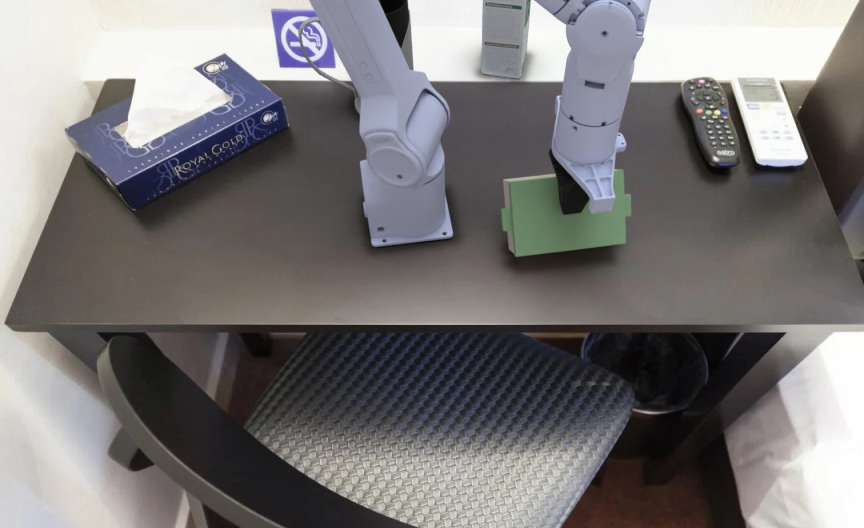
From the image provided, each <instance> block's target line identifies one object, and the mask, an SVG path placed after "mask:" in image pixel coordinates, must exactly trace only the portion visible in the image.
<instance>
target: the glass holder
mask: <svg viewBox="0 0 864 528" xmlns="http://www.w3.org/2000/svg"><path fill="white" fill-rule="evenodd" d="M379 2H380V5H381V7H382V9H383V11H384V14H385V16H386V18H387V20H388V22H389V25H390V27H391V29H392V31H393V33H394V36H395V38H396V40H397V42H398V45H399V47H400V49H401V51H402V53H403V56H404V58H405V60H406V62H407V65H408V67H409V69H410V70H413V71H415V68H414V53H413V36H412V20H411V19H412V18H411V11H410V8H409V0H379ZM316 22H317V23H321V22H320V20H319V18H318V17H317V16H312V17H309V18H307V19H305V20H304V21H303V22H302V23H300V26H299V28H298V31H297V33H298V42H299V46H300V50H301V52H302V55H303V57H304V58H305V60H306V61H307V64H309V66H310V67H311V68H312V69H313V70H314V71H315V72H316V73H317V74H318V75H319V76H322V77H323V78H324V79H326V80H328V81H330V82H332V83H334V84H335V85H338V86H341V87H343V88H345V89H347V90H349V91H351V92H352V93H353V95H354V98H355V99H354V107H355V111H356V112H357V113H358V115H360V109H361V97H360V95H359V93H358V92H357V90H356V88H355V87H353V86H352V85H350V84H348V83H346V82H344V81H342V80H340V79H338V78H335V77H333V76H332V75H330V74H328V73H326V72H324V71H323V70H321V69H320V68H319V67H318V66H317V65H316V64H315V63H314V62H313V60H311V58H310V57H309V55H308V53H307V51H306V49H305V46H304V43H303V31H304V29H305V28H306V27H307V26H308V25H310V24H312V23H316Z"/></svg>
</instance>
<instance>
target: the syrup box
mask: <svg viewBox="0 0 864 528" xmlns="http://www.w3.org/2000/svg"><path fill="white" fill-rule="evenodd" d="M531 2H532V0H482V10H481V11H482V14H481V15H482V16H481V65H480V66H481V67H480V68H481V74H483V75H489V76H494V77H501V78H510V79H518V80H520V78H521V76H522V73H523V69H524V66H525V63H526V58H527V56H528V55H527V53H528V40H529V29H530V15H531V4H532V3H531Z"/></svg>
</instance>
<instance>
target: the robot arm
mask: <svg viewBox="0 0 864 528" xmlns="http://www.w3.org/2000/svg"><path fill="white" fill-rule="evenodd" d="M308 1H309V4H310V5H311V7H312V9H313V11H314V13H315V15H316V17H318V18H319V20H320V22H319V23H320V24H321V26H322V28H323V29H324V31H325V34H326V35H327V37H328V39H329V41H330V43H331V45H332V46H333V48H334V50H335V53H336V54H337V56H338V58H339V60H340V61H341V64H342V65H343V68H344V70H345V71H346V73H347V75H348V76H349V77H348V78H349V79H350V80H351V82H352V84H353V86H354V89H355V90H357V92H358V93H359V95H360V97H361V109H360V114H359V131H358V132H359V136H360V137H361V140H362V142H363V143H364V146H365V150H366V151H365V152H366V155H365V158H366V159H363V160H360V161H359V168H360V175H361V184H362V190H363V191H362V192H363V197H364V199H363V200H364V201H363V202H362V205H363V214H364V218H367V223H368V229H369V235H370V242H371V246H372V247H374V248H379V247H388V246H394V245H395V246H396V245H404V244H412V243H421V242H429V241H430V242H431V241H438V240H447V239H451V238H453V237H454V232H453V227H452V221H451V220H452V219H451V215H450V211H449V206H448V201H447V196H446V195H447V194H446V169H445V168H446V166H445V165H446V164H445V162H446V161H445V152H444V149H443V146H442V142H441V137H442V136H443V133H444V131H445V130H446V129H447V128H448V127H449V124H450V122H451V121H450V120H451V110H450V106H449V104H448V102H447V100H446V99H445V98H444V97H443V95H441V94H440V93H439V92H438V91H437V90H436V89H435V88H434V87H433V85H432V84H431V83H430V80H429V78H428V75H427V73H426V72H424V71H420V70H414V71H413V70H410V69H409V67H408V65H407V62H406V60H405V58H404V56H403V53H402V51H401V49H400V47H399V45H398V42H397V40H396V38H395V36H394V33H393V31H392V29H391V27H390V25H389V22H388V20H387V18H386V16H385V14H384V11H383V9H382V7H381V5H380V2H379V0H308ZM533 1H534V2H535V3H537V4H538V5H539V6H540V7H542V8H543V9H544V10H545V11H547V12H548V13H549V14H550V15H552V16H553V17H554V18H555V19H556V20H558V21H560V22H561V23H563V25H565V37H566V41H567V43H568V46H569V47H570V50H569V52H568V54H567V56H566V62H565V68H564V74H563V81H562V89H561V94H560V95H556V96H555V104H554V114H555V116H556V117H555V123H554V127H553V133H552V140H551V147H550V149H549V150H548V157H549V159H550V162H551V165H552V168H553V171H554V174H555V175H556V178H557V182H558V192H559V202H560V206H561V209H562V212H563V214H564V215H568V214H576V213H581V212H582V210H583V209H584V207H585V206H586V204H587V203H588V201H589V200H590V202H589V210H590V213H591V214H595V213H605V212H611V211H612V208H613V205H614V201H615V194H614V191H613V177H614V169H615V166H616V155H617V153H622V152H625V151H626V148H627V142H626V139H625V137H624V135H623V133H621V132H619V131H620V127H621V122H622V119H623V116H624V112H625V107H626V103H627V99H628V95H629V92H630V87H631V83H632V80H633V75H634V73H635V72H634V71H635V60H636V58H637V54H638V52H639V51H640V49H641V48H642V46H643V44H644V41H645V37H644V33H645V29H646V24H647V20H648V15H649V11H650V7H651V3H652V0H533Z"/></svg>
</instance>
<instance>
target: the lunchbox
mask: <svg viewBox="0 0 864 528" xmlns="http://www.w3.org/2000/svg"><path fill="white" fill-rule="evenodd" d="M502 184H503V185H502V187H503V195H504V197H503V199H504V208H500V220H501V230H502V231H503V232H506V233H507V244H508V250H509V251H510V252H511V253H512V254H513V256H514V257H515V258H520V257H527V256H536V255H544V254H552V253H561V252H568V251H576V250H585V249H586V250H587V249H592V248H601V247H610V246H617V245H625V244H627V227H626V226H627V225H626V223H627V222H626V218H630V217H632V195H631V194H630V193H625V170H624V169H621V168H620V169H617V168H614V177H613V191H614V194H615V201H614V205H613V208H612V211H611V212H605V213H595V214H591V213H590V210H589V202H590V200H589V201H588V203H587V204H586V206H585V207H584V209H583V210H582V212H581V213H576V214H568V215H564V214H563V212H562V209H561V206H560V202H559V192H558V182H557V178H556V175H555V173H549V174H541V175H531V176H522V177H521V176H520V177H513V178H505V179H503V180H502Z"/></svg>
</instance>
